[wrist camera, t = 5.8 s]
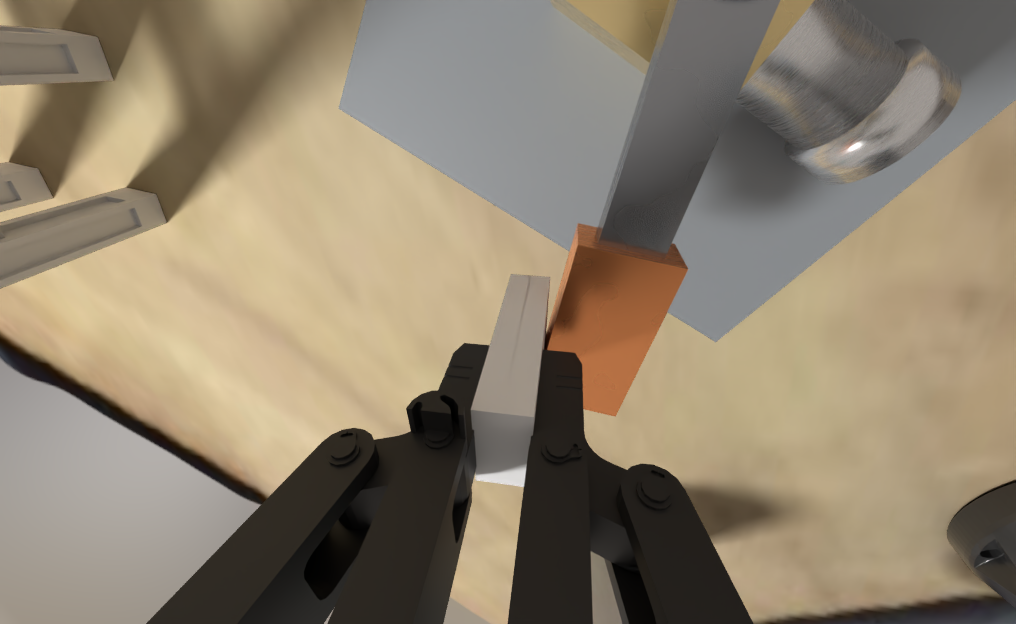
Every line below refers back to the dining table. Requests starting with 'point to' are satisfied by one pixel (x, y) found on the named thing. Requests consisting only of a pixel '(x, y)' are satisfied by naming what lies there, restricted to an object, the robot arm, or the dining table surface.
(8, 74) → the stool
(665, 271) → the valve lever
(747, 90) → the valve pipe
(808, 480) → the dining table surface
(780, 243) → the valve board
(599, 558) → the vase
